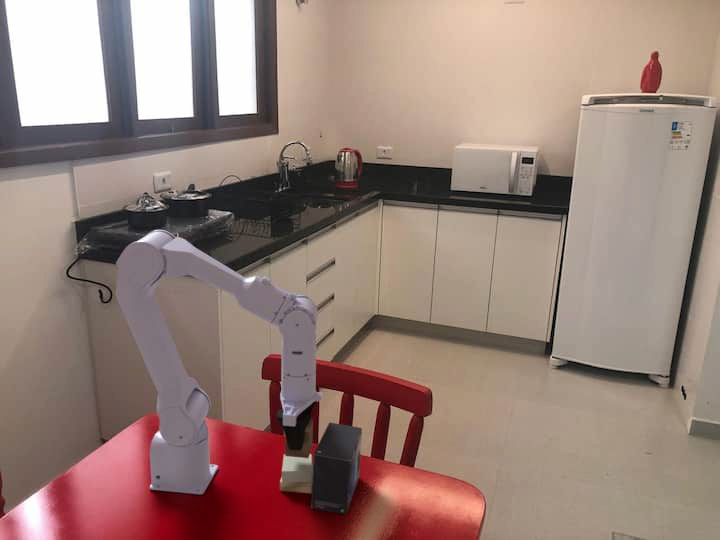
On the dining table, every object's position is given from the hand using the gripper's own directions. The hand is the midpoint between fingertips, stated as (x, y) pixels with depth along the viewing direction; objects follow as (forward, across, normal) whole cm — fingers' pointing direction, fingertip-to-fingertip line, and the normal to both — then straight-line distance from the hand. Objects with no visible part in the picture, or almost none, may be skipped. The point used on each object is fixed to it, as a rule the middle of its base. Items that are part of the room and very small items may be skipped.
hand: (297, 441), depth 99 cm
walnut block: (+2, 0, 0) cm, 2 cm away
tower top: (+6, 0, 0) cm, 7 cm away
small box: (+9, -2, -7) cm, 11 cm away
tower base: (+9, 0, 0) cm, 9 cm away
